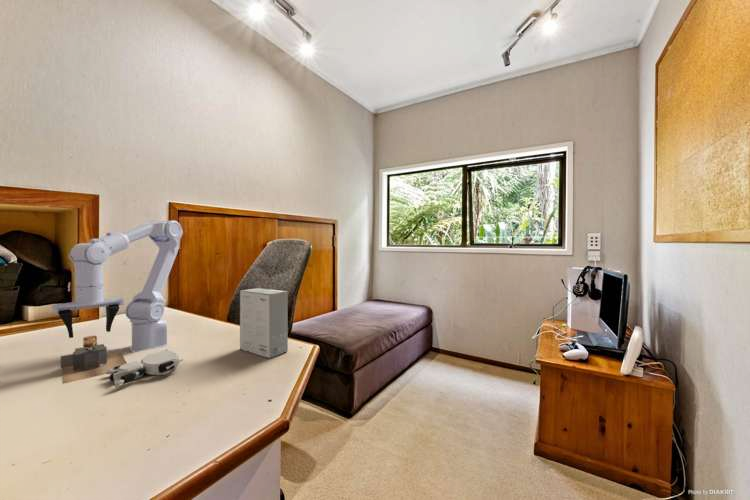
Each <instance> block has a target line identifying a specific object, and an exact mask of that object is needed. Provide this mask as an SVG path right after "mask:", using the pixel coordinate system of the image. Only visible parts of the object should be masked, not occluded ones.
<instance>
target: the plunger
mask: <svg viewBox="0 0 750 500" xmlns="http://www.w3.org/2000/svg"><path fill="white" fill-rule="evenodd" d="M82 341H83V342H82V347H88V350H91V349H92V346H95V345H98V337H97V335H88V336H84V337H83V338H82Z"/></svg>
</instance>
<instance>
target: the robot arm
mask: <svg viewBox="0 0 750 500" xmlns="http://www.w3.org/2000/svg"><path fill="white" fill-rule="evenodd" d="M183 234H184V231H183V228H182V226H181V224H180V222H178V221H177V220H150V221H146V222H144V223H143V224H140V225H138V226H136V227H133V228H131V229H130V230H127V231H125V232H123V233H121V232H118V231H115V232H114V231H108V232H106V235H104V236H101V237H99V238H91V239H90V241H89V242H88V243H87V242H86V243H85V242H84V243H83V242H81V243H78V244H75V245H74V246H73V247H72V248H71V250H70V252H69V253H68V258H69V260H71V262H72V264H73V268H74V279H75V280H74V284H75V287H74V289H75V291H74V292H75V293H74V295H75V301H71V302H66V303H65V302H64V303H57V304H51V313H52V314H58V316H59V317H60V319H61V320H62V322H63V323H64V325H65V327H66V330H67V334H68V338H69V339H71V338H72V339H73V338H74V331H73V329H74V328H73V311H78V310H87V309H96V308H102V307H103V308H105V313H106V314H105V315H106V316H105V317H106V319H105V320H106V322H105V331H106V332H107V333H109V332H111V329H112V324H113V323H114V319H115V317H116V316H117V313H118V312H119V310H120V306H124V305H125V304H124V303H125V302H124V298H123V297H115V298H113V297H112V298H104V263H105V262H106V261H107V260H108V259H109V257H110V256H113V255H116V254H117V253H120V252H123V251H124V250H126V249H127V248H128V247H129V244H130V243H133V242H136V241H138V240H141V239H144V238H147V237H149V239H150V240H151V241H152V242H153V243H154V244H155V245H156V247H158V249H159V250H158V252H157V254H156V257H155V259H154V261H153V264H152V266H151V269H150V272H149V273H148V276H147V279H146V281H145V283H144V286H143V288H142V291H140V292H138V293H137V294H135V295H134V296H133V298H132V300H131V301H130V302H129V303H128V304H127V306H126V307H125V312H124V314H125V317H126V318H127V319H129V323H131V345H129V346H128V348H129V350H130V351H131V353H136V352H137V353H138V352H143V351H146V350H151V349H157V348H163V347H167V346H168V325H167V321H166V319H165V318H162V317H163V316H164V314H165V305H166V302H167V301H166V299H165V298H164V297H163V295H162V293H163V290H164V288H165V285H166V283H167V280H168V277H169V275H170V273H171V270H172V268H173V265H174V263H175V260H176V257H177V254H178V252H179V249H180V241H181V238H182V236H183ZM161 318H162V319H161Z"/></svg>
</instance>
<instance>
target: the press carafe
mask: <svg viewBox="0 0 750 500" xmlns="http://www.w3.org/2000/svg"><path fill="white" fill-rule="evenodd" d="M107 350H108V349H107V345H106V346H105V345H104V343H100V344H97V345H95V346H92V349H91V350H88V347H83V346H82V347H77V348H74V351H73V352H72V354H64V355H60V369H62V368H64V367H69V366H73V370H75V371H84V370H90V369H95V368H98V367H101V366H103V365H105V364H106V363H107V354H108V352H107Z"/></svg>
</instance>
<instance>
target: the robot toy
mask: <svg viewBox="0 0 750 500" xmlns="http://www.w3.org/2000/svg"><path fill="white" fill-rule="evenodd" d="M182 361H184V358H181V359H180V355H179V354H178V353H177V352H175V351H172V350H169V349H168V348H166V349H165V350H161V351H157V352H153V353H151V354H147V355H145V356H144V357H142V359H141V360H140V361H138V360H136V361H132V362H128V363H127V364H124V365H121V366H117V367H114V369H110V370H108V371H107V372H106V374H105V375H109V376H108V379H109V380H110V382H113V383H114V385H117V386H120V385H122V384H123V385H126V384H130V383H133V381H135V380H136V379H140V378H142V377H143V376H144V375H145V374H147V375H150V376H156V375H157V376H159V375H162V376H164V375H167V374H169V373H170V372H171V371H173V370H175V369H176V368H178V367H179V365H180V362H182Z"/></svg>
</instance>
